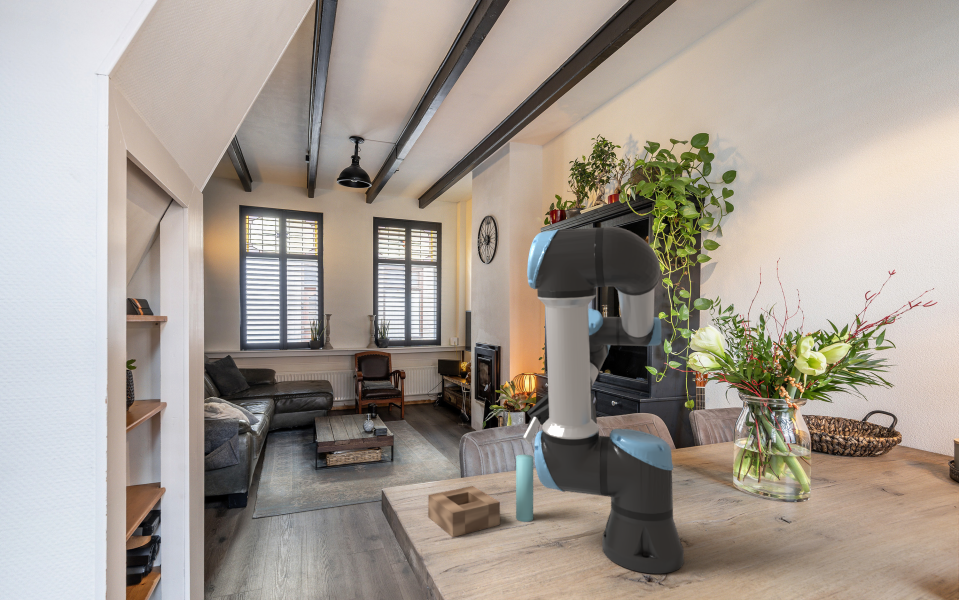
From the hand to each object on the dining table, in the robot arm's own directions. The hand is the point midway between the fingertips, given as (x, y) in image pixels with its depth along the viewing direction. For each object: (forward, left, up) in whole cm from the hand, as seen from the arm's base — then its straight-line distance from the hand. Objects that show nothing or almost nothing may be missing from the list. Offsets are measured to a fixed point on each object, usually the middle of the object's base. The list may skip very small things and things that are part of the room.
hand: (548, 445), depth 115 cm
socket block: (+3, +22, -15) cm, 27 cm away
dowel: (-3, +9, -15) cm, 18 cm away
